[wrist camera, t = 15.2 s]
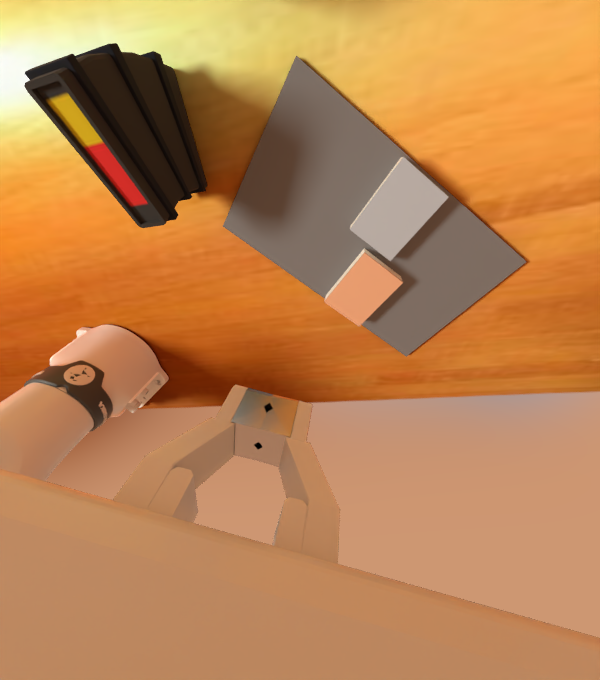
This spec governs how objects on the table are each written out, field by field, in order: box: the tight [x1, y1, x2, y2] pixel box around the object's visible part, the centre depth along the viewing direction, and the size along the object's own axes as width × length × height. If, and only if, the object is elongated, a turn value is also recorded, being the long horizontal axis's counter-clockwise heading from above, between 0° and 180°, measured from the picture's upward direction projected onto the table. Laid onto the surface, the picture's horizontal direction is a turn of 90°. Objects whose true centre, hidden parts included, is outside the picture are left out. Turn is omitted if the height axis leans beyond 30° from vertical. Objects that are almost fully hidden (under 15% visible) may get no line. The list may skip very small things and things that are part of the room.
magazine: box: [25, 43, 207, 228], centre depth 26 cm, size 4×13×15 cm, turn 8°
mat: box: [223, 56, 526, 356], centre depth 32 cm, size 18×32×1 cm, turn 57°
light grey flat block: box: [350, 157, 448, 261], centre depth 29 cm, size 8×2×6 cm
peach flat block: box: [324, 248, 403, 326], centre depth 34 cm, size 8×2×6 cm
